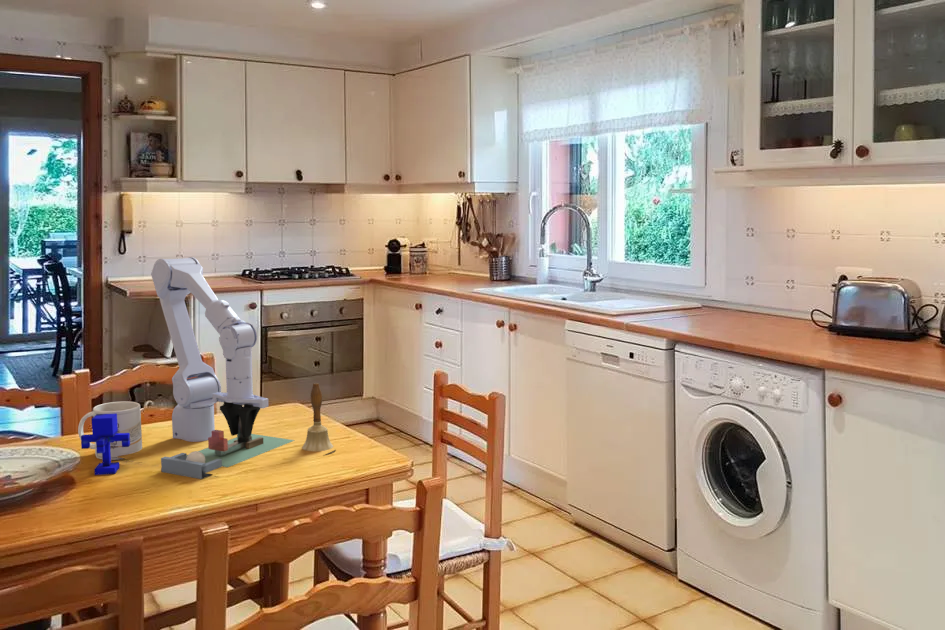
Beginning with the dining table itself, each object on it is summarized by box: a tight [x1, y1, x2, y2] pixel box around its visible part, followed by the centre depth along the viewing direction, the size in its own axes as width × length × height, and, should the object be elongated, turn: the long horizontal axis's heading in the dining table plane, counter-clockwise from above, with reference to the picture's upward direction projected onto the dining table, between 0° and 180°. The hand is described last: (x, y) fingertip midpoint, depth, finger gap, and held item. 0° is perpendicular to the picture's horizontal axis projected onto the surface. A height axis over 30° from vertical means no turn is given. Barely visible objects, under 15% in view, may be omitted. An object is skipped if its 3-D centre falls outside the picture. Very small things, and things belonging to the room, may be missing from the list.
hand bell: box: [301, 382, 337, 457], centre depth 192 cm, size 8×8×16 cm
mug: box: [77, 400, 143, 461], centre depth 190 cm, size 10×12×11 cm
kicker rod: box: [207, 414, 251, 456], centre depth 189 cm, size 4×11×7 cm, turn 155°
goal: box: [160, 452, 223, 480], centre depth 178 cm, size 11×6×3 cm, turn 65°
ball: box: [186, 450, 205, 463], centre depth 179 cm, size 4×4×4 cm
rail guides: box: [234, 436, 263, 449], centre depth 194 cm, size 4×5×1 cm
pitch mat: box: [187, 433, 295, 468], centre depth 191 cm, size 14×23×1 cm, turn 155°
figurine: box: [80, 413, 130, 476], centre depth 177 cm, size 8×8×12 cm
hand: (241, 435), depth 191 cm, fingers closed on kicker rod, 3 cm apart
